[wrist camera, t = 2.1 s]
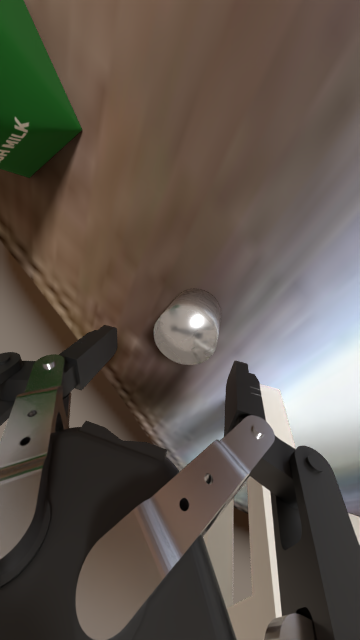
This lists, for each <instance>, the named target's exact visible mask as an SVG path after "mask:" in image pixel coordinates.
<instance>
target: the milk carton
mask: <svg viewBox="0 0 360 640" xmlns="http://www.w3.org/2000/svg"><path fill="white" fill-rule="evenodd" d="M80 131H82V128H81V126H80V124H79V122H78V119H77V117H76V115H75V113H74V111H73V108H72V106H71V104H70V102H69V100H68V97H67V95H66V93H65V91H64V89H63V86H62V84H61V82H60V80H59V78H58V75H57V73H56V71H55V69H54V67H53V64H52V62H51V60H50V58H49V56H48V53H47V51H46V49H45V47H44V45H43V42H42V40H41V38H40V36H39V34H38V31H37V29H36V27H35V25H34V23H33V20H32V18H31V16H30V14H29V12H28V9H27V7H26V5H25V3H24V1H23V0H0V169H3V170H6V171H9V172H12V173H15V174H19V175H22V176H25V177H28V178H30V177H31V176H32V175H33V174H34V173H35V172H36V171H37V170H39V169H40V168H41V167H42V166H43V165H44V164H45V163H46V162H47V161H49V160H50V159H51V158H52V157H53V156H54V155H55V154H56V153H57V152H58V151H60V150H61V149H62V148H63V147H64V146H65V145H66V144H67V143H68V142H69V141H71V140H72V139H73V138H74V137H75V136H76V135H77V134H78V133H79V132H80Z"/></svg>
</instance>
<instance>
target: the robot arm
mask: <svg viewBox="0 0 360 640" xmlns="http://www.w3.org/2000/svg"><path fill="white" fill-rule="evenodd" d="M116 350H117V329H116V328H115V327H111V326H107V325H104V326H102V327H101V328H100V329H99V330H94V331H92V332H89V333H87V334H86V335H85V336H83V337H82V338H80V339H79V340H78V341H77V342H75V343H74V344H72V345H71V346H70V347H69V348H67V349H66V350H64V351H63V352H62V353H60V354H59V355H47V356H44V357H42V358H40V359H38V360H37V361H22V360H21V357H20V355H19V354H17V353H14V352H8V353H2V354H0V425H2V424H3V423H4V422H5V421H6V420H7V419H8V418H9V419H8V422H7V425H6V428H5V430H4V433H3V436H2V439H1V442H0V640H237V638H236V635H235V632H234V629H233V626H232V623H231V620H230V617H229V614H228V611H227V608H226V605H225V602H224V599H223V596H222V593H221V590H220V587H219V584H218V581H217V578H216V575H215V572H214V569H213V566H212V563H211V560H210V556H209V553H208V550H207V547H206V544H205V541H204V538H203V537H204V536H205V534H206V533H207V532H208V530H209V529H210V528H211V527H212V525H213V524H214V523H215V521H216V520H217V519H218V518H219V516H220V515H221V514H222V512H223V511H224V509H225V508H226V507H227V505H228V504H229V503H230V501H231V500H232V499H233V498H234V496H235V495H236V494H237V492H238V491H239V490H240V489H241V487H242V486H243V485H244V483H245V482H246V481H247V480H248V478H249V477H252V478H253V479H254V480H256V481H257V482H258V483H260V484H261V485H262V486H264V487H265V488H266V489H268V490H269V491H270V495H271V505H272V516H273V527H274V537H275V548H276V559H277V569H278V580H279V591H280V602H281V612H282V617H278V618H275V619H273V620H272V621H271V622H270V623H269V625H268V627H267V629H266V633H265V638H264V640H360V545H359V542H358V540H357V537H356V534H355V531H354V528H353V526H352V523H351V520H350V517H349V514H348V512H347V509H346V506H345V503H344V501H343V498H342V495H341V492H340V489H339V487H338V484H337V481H336V478H335V475H334V473H333V470H332V468H331V466H330V465H329V463H328V462H327V460H326V459H325V458H324V457H323V456H322V455H321V454H320V453H318V452H317V451H316V450H314V449H312V448H310V447H307V446H299V447H298V448H297V449H295V448H293V447H291V446H290V445H288V444H287V443H285V442H283V441H282V440H280V439H279V438H278V437H276V436H275V435H274V431H273V429H272V428H271V426H270V425H269V424H268V423H267V422H266V418H265V412H264V406H263V401H262V397H261V391H260V383H259V381H258V379H257V377H256V376H255V374H251V373H249V371H248V364H246V363H243V362H239V361H234V363H233V366H232V369H231V371H230V374H229V377H228V380H227V384H226V400H225V427H224V438H223V439H222V440H220V441H219V440H216V441H214V442H213V443H212V444H210V445H209V446H208V447H207V448H206V449H205V450H204V451H203V452H202V453H200V454H199V455H198V456H197V457H196V458H195V459H194V460H193V461H191V462H190V463H189V464H188V465H187V466H186V467H185V468H184V469H182V470H181V471H180V472H179V470H178V469H177V468H176V466H175V465H174V464H173V463H172V462H171V461H170V460H169V459H168V458H166V452H167V450H166V449H163V448H161V447H158V446H155V445H152V444H150V443H147V442H134V441H123V440H121V439H119V438H118V437H117V436H115V435H114V434H113V433H111V432H110V431H109V430H108V429H106V428H105V427H102V426H99V425H97V424H94V423H91V422H88V421H86V422H85V423H84V424H83V426H82V427H75V428H69V415H70V403H71V391H72V390H73V389H74V388H76V389H79V390H82V389H83V388H84V387H85V386H86V385H87V384H88V383H89V382H90V381H91V379H92V378H93V377H94V376H95V375H96V374H97V373H98V372H99V371H100V370H101V368H102V367H103V366H104V365H105V364H106V363H107V362H108V361H109V360H110V359H111V358H112V356H113V355H114V354H115V352H116Z"/></svg>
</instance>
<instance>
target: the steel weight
mask: <svg viewBox="0 0 360 640" xmlns="http://www.w3.org/2000/svg"><path fill="white" fill-rule="evenodd" d="M220 320H221V308H220V305H219V303H218V301H217V299H216V298H215V297H214V296H213V295H212V294H210V293H209V292H207V291H205V290H202V289H188V290H185V291H183V292H181V293H180V294H179V295H178V296H177V297H176V298H175V299H174V300H173V301H172V303H171V304H170V305H169V306H168V308H167V309H166V310H165V311H164V312H163V314H162V315H161V316H160V317H159V319H158V320H157V322H156V324H155V326H154V339H155V343H156V345H157V347H158V348H159V350H160V351H161V352H162V353H163V354H164V355H165V356H166V357H167V358H169V359H170V360H172V361H174V362H177V363H180V364H184V365H195V364H200V363H202V362H204V361H206V360H208V359H209V358H210V357H211V356H212V355H213V353H214V351H215V349H216V346H217V340H218V333H219V327H220Z"/></svg>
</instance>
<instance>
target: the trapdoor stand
mask: <svg viewBox="0 0 360 640" xmlns="http://www.w3.org/2000/svg"><path fill="white" fill-rule="evenodd" d="M260 391H261V397H262V401H263V406H264V412H265V418H266V422H267V423H268V424H269V425H270V426H271V428H272V429H273V431H274V435H275V436H276V437H278V438H279V439H280V440H282V441H283V442H285V443H287V444H288V445H290V446H291V447H293V448H295V449H296V447H295V443H294V440H293V436H292V432H291V429H290V425H289V421H288V418H287V414H286V410H285V407H284V403H283V399H282V396H281V392H280V390H279V389H276V388H272V387H269V386H265V385H262V384H260ZM247 492H248V513H249V534H250V555H251V577H252V596H250V597H248V598H246V599H244V600H242V601H240V602H238V603H236V604H234V605H233V509H234V498H233V499H232V500H231V501H230V503H229V504H228V505H227V507H226V508H225V509H224V511H223V512H222V514H221V515H220V516H219V518H218V519H217V520H216V521H215V523H214V524H213V525H212V527H211V528H210V529H209V530H208V532H207V533H206V534H205V536H204V541H205V544H206V547H207V550H208V553H209V556H210V560H211V563H212V566H213V569H214V572H215V575H216V578H217V581H218V584H219V587H220V590H221V593H222V596H223V599H224V602H225V605H226V608H227V611H228V614H229V617H230V620H231V623H232V626H233V629H234V632H235V635H236V638H237V640H264V638H265V633H266V629H267V627H268V625H269V623H270V622H271V621H272V620H273V619H275V618H278V617H282V612H281V602H280V591H279V580H278V569H277V559H276V548H275V537H274V527H273V516H272V505H271V495H270V491H269V490H268V489H266V488H265V487H264V486H262V485H261V484H260V483H258V482H257V481H256V480H254V479H253V478H252V477H249V478H248V480H247ZM348 514H349V517H350V520H351V523H352V526H353V528H354V531H355V534H356V537H357V540H358V542H359V545H360V517H358V516H355V515H353V514H350V513H348Z"/></svg>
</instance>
